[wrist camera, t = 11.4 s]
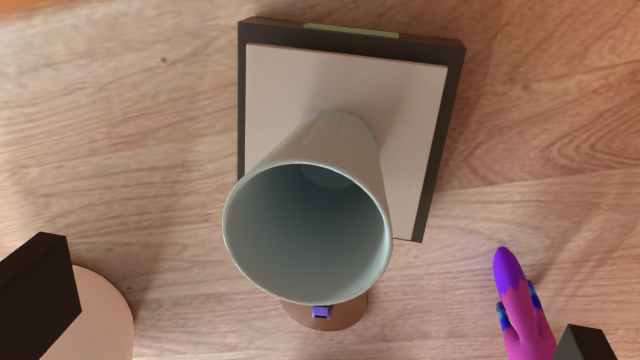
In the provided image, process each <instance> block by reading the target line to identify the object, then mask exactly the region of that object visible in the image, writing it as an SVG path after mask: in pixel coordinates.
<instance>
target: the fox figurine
mask: <svg viewBox="0 0 640 360" xmlns="http://www.w3.org/2000/svg"><path fill="white" fill-rule="evenodd" d="M493 268H494V276H495V281H496V285H497V289H498V292H499V295H500V297H501V300H502V302H498V303H497V311H498V312H499V318H500V322H501V325H502V330H503V335H504V341H505V345H506V349H507V353H508V356H509V359H510V360H552V358H553V355H554V353H555V351H556V349H557V347H558V346H557V343H556V340H555V338H554V336H553V334H552V331H551V329H550V327H549V324H548V322H547V320H546V317H545V315H544V312H543V309H542V306H541V303H540V300H539V298H538V296H537V294H536V292H535V290H534V286H533V285H532V282H531V281H530V280H526V278H525V275H524V273H523V271H522V269H521V266H520V264H519V262H518V261H517V259H516V257H515V256H514V254H513V253H512V252H511V251H510V250H509V249H507V248H506V247H503V246H502V247H499V248H498V249H497V251H496V253H495V256H494V262H493ZM506 311H507V313H508V315H509V317H510V319H511V321H512V323H513V325H514V327H515V329H516V330H515V329H514V328H513V326H512V325H511V323H510V321H509V319H508V316H507V313H506Z"/></svg>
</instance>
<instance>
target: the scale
mask: <svg viewBox="0 0 640 360" xmlns="http://www.w3.org/2000/svg"><path fill="white" fill-rule="evenodd" d="M465 53H466V47H465V46H464V44H463V43H462V42H461V41H460V40H456V39H447V38H438V37H430V36H421V35H412V34H403V33H395V32H386V31H377V30H368V29H359V28H350V27H341V26H332V25H324V24H315V23H306V22H297V21H288V20H279V19H270V18H261V17H249V18H247V19H244V20H242V21H239V22H238V144H237V182H238V181H239V180H240V179H241V178H242V177H243V176H244V175H245V174H247V173H248V172H249V171H250V170H251V169H252V168H253V167H254V166H255V165H256V164H257V163H258V162H260V161H261V160H262V159H263V158H264V157H265V156H266V155H267V154H268V153H269V152H271V151H272V150H273V149H274V148H275V147H276V146H277V145H278V144H279V143H280V142H281V141H282V140H283V139H285V138H286V137H287V136H288V135H289V134H290V133H291V132H292V131H293V130H294V129H295V128H296V127H298V126H299V125H300V124H301V123H302V122H303V121H304V120H306V119H308V118H309V117H311V116H312V115H313V114H315V113H317V112H321V111H328V110H340V111H343V112H347V113H350V114H353V115H355V116H356V117H358V118H359V119H360V120H361V121H363V122H364V123H365V124H366V125H367V126H368V127H369V128H370V130H371V132H372V134H373V137H374V139H375V141H376V145H377V149H378V154H379V160H380V165H381V171H382V176H383V182H384V187H385V193H386V198H387V204H388V209H389V214H390V219H391V225H392V231H393V239H399V240H406V241H412V242H418V243H422V240H423V235H424V231H425V227H426V222H427V218H428V214H429V209H430V205H431V201H432V196H433V192H434V188H435V183H436V179H437V175H438V170H439V166H440V162H441V157H442V153H443V148H444V144H445V140H446V135H447V131H448V127H449V122H450V118H451V114H452V109H453V105H454V101H455V96H456V92H457V88H458V83H459V79H460V75H461V70H462V66H463V62H464V57H465Z"/></svg>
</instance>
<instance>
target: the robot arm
mask: <svg viewBox="0 0 640 360" xmlns="http://www.w3.org/2000/svg"><path fill="white" fill-rule="evenodd" d="M81 313H82V308H81V303H80V299H79V294H78V290H77V285H76V280H75V276H74V271H73V267H72V262H71V258H70V253H69V249H68V244H67V239H66V236H63V235H57V234H51V233H45V232H39V233H37V234H36V235H35V236H34V237H32V238H31V239H30V240H28V241H27V242H26V243H24V244H23V245H22V246H20V247H19V248H18V249H17V250H15V251H14V252H13V253H11V254H10V255H9V256H7V257H6V258H5V259H3V260H2V261H1V262H0V360H39V359H40V358H41V357H42V356H43V355H44V354H45V353H46V352H47V351H48V349H49V348H50V347H51V346H52V345H53V344H54V343H55V342H56V340H57V339H58V338H59V337H60V336H61V335H62V334H63V333H64V332H65V330H66V329H67V328H68V327H69V326H70V325H71V324H72V323H73V321H74V320H75V319H76V318H77V317H78V316H79V315H80V314H81ZM552 360H618V359H617V358H616V356H615V354H614V352H613V350H612V348H611V346H610V345H609V343H608V341H607V339H606V337H605V335H604V333H603V331H602V330H601V329H595V328H589V327H584V326H578V325H572V324H568V325H567V327H566V330H565V332H564V334H563V336H562V338H561V340H560V342H559V345H558V347H557V349H556V351H555V353H554V355H553V358H552Z"/></svg>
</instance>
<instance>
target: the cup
mask: <svg viewBox="0 0 640 360" xmlns="http://www.w3.org/2000/svg"><path fill="white" fill-rule="evenodd" d="M222 233H223V238H224V242H225V245H226V248H227V250H228V252H229V254H230V256H231V258H232V260H233V262H234V263H235V265H236V266H237V267H238V269H239V270H240V271H241V272H242V273H243V274H244V275H245V276H246V277H247V278H248V279H249V280H250V281H251V282H252V283H254V284H255V285H256V286H257V287H259V288H260V289H262V290H264V291H265V292H267V293H269V294H271V295H273V296H275V297H277V298H280V299H282V300H285V301H288V302H292V303H297V304H303V305H315V306H318V305H332V304H337V303H341V302H344V301H347V300H350V299H352V298H355V297H357V296H359V295H360V294H362V293H364V292H365V291H367V290H368V289H369V288H370V287H372V286H373V285H374V284H375V283H376V282H377V281H378V279H379V278H380V277H381V276H382V274H383V273H384V271H385V269H386V267H387V265H388V263H389V260H390V257H391V254H392V248H393V231H392V225H391V219H390V214H389V209H388V204H387V198H386V193H385V187H384V182H383V176H382V171H381V165H380V160H379V154H378V149H377V145H376V141H375V139H374V137H373V134H372V132H371V130H370V128H369V127H368V126H367V125H366V124H365V123H364V122H363V121H361V120H360V119H359V118H358V117H356V116H355V115H353V114H350V113H347V112H343V111H340V110H328V111H321V112H317V113H315V114H313V115H312V116H311V117H309V118H308V119H306V120H304V121H303V122H302V123H301V124H300V125H299V126H298V127H296V128H295V129H294V130H293V131H292V132H291V133H290V134H289V135H288V136H287V137H286V138H285V139H283V140H282V141H281V142H280V143H279V144H278V145H277V146H276V147H275V148H274V149H273V150H272V151H271V152H269V153H268V154H267V155H266V156H265V157H264V158H263V159H262V160H261V161H260V162H258V163H257V164H256V165H255V166H254V167H253V168H252V169H251V170H250V171H249V172H248V173H247V174H245V175H244V176H243V177H242V178H241V179H240V180H239V181H238V182H237V184H236V185H235V186H234V187H233V189H232V190H231V192H230V194H229V195H228V197H227V200H226V202H225V205H224V209H223V214H222Z"/></svg>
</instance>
